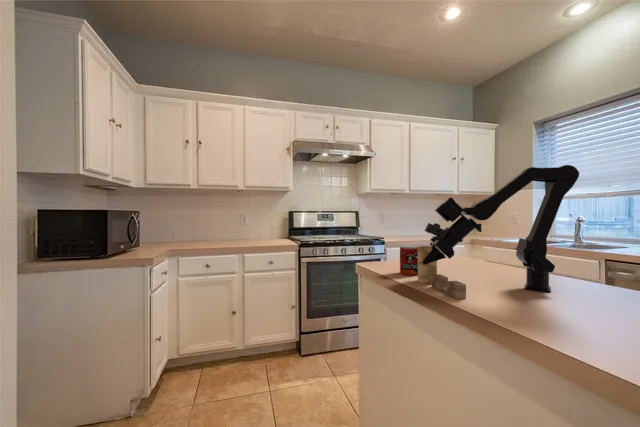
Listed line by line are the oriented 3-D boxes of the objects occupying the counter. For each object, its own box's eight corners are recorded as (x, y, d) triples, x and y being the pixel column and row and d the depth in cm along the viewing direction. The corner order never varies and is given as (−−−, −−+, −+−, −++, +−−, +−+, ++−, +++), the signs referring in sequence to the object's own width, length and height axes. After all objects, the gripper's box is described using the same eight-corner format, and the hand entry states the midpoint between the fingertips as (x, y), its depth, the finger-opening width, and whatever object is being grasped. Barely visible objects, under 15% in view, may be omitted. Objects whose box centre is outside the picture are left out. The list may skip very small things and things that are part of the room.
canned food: (399, 275, 110) (399, 246, 110) (400, 271, 117) (400, 244, 117) (420, 276, 107) (420, 247, 107) (419, 272, 115) (419, 245, 115)
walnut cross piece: (431, 286, 93) (431, 274, 93) (440, 286, 93) (440, 274, 93) (456, 299, 80) (456, 284, 80) (465, 298, 80) (466, 284, 80)
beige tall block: (436, 281, 100) (435, 245, 100) (436, 283, 97) (436, 246, 97) (417, 280, 102) (417, 245, 102) (418, 282, 99) (418, 246, 99)
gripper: (436, 214, 107) (405, 243, 110) (443, 215, 89) (406, 249, 92) (459, 236, 105) (427, 264, 108) (470, 241, 87) (432, 274, 90)
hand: (422, 262), depth 100 cm, fingers closed on beige tall block, 3 cm apart
